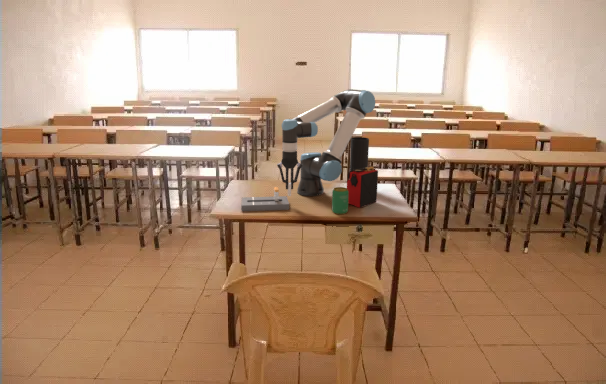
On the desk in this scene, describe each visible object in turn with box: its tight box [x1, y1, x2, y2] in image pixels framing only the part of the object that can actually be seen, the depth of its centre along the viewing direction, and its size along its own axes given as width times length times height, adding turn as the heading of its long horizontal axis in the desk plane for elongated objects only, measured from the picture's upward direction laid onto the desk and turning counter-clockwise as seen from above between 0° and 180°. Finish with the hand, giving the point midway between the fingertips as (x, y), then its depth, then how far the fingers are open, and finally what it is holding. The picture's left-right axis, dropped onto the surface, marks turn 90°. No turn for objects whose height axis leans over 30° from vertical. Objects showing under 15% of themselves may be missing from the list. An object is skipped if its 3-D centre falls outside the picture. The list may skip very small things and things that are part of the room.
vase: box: [349, 136, 370, 172], centre depth 266 cm, size 10×10×30 cm
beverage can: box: [331, 186, 349, 215], centre depth 228 cm, size 8×8×12 cm
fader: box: [273, 186, 280, 201], centre depth 237 cm, size 2×5×9 cm, turn 7°
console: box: [240, 195, 290, 212], centre depth 237 cm, size 24×14×3 cm, turn 97°
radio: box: [346, 166, 379, 209], centre depth 241 cm, size 16×10×20 cm, turn 134°
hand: (289, 195), depth 237 cm, fingers closed
